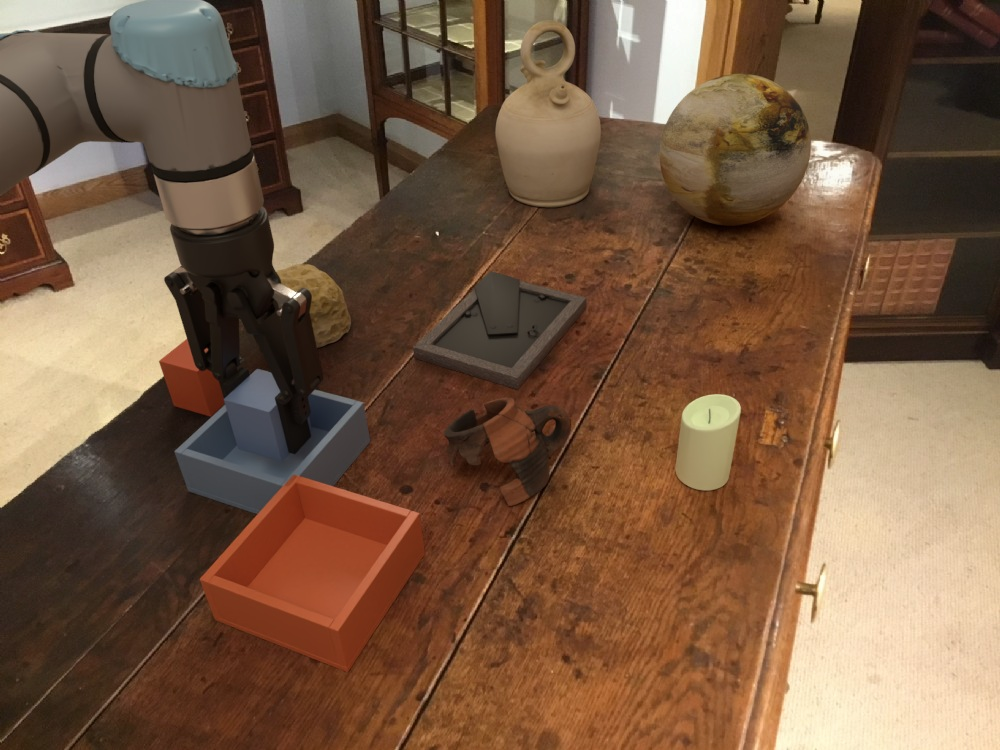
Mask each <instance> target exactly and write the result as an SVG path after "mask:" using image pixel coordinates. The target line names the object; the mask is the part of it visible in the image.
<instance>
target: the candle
mask: <svg viewBox="0 0 1000 750" xmlns="http://www.w3.org/2000/svg"><path fill="white" fill-rule="evenodd" d="M741 409H742V407H741V405H740V402H739V401H738V400H737V399H736V398H734V397H732V396H730V395H726V394H722V393H721V394H719V393H713V394H708V395H703V396H700V397H697V398H696V399H694V400H693V401H690V402H689V403H688V404H687V405H686V406H685V407H684V409H683V410H682V414H681V419H680V428H679V429H680V430H679V434H678V435H679V437H678V443H677V444H678V445H677V450H676V451H677V452H676V461H675V468H674V471H675V475H676V477H677V478H678V480H679V481H680V482H681V483H682V484H684V485H686V486H687V487H689V488H691V489H694V490H697V491H698V490H699V491H713V490H718V489H720V488H722V487H723V486H725V485H726V484H727V483H728V481H729V479H730V475H731V474H730V473H731V468H732V463H733V458H734V453H735V452H734V451H735V446H736V441H737V435H738V430H739V424H740V420H741V419H740V418H741V413H742V410H741Z"/></svg>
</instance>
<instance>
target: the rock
mask: <svg viewBox="0 0 1000 750" xmlns="http://www.w3.org/2000/svg"><path fill="white" fill-rule="evenodd" d="M276 273H277V274H278V275H279V277H280V279H281V284H282V285H284V286H286V287H288V288H289V289H291V290H293V291H295V292H298V291H299V290H300V289H301V288H305V289H307V290H309V291H310V293H311V295H312V300H311V307H310V317H311V322H312V327H313V331H314V336H315V341H316V345H317V349H318V348H322V347H325V346H326V345H329V344H333V343H336V342H338V341H339V340H340V339H341V338H342V337H343V336H344V335H345V334H347V333H349V331H350V330H351V326H352V318H351V315H350V312H349V310H348V305H347V303H346V301H345V296H344V292H343V290H342V289H341V288H340V286H339V285H338V284H337V283H336V282H335V280H334V279H333V278H332V277H330V276H329V274H328V273H326V272H325V271H322V270H320V269H319V268H317V267H316V266H315V265H311V264H310V263H308V264H305V263H296V264H293V265H290V266H288V267H286V268H282V269H278V270H276Z"/></svg>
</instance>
